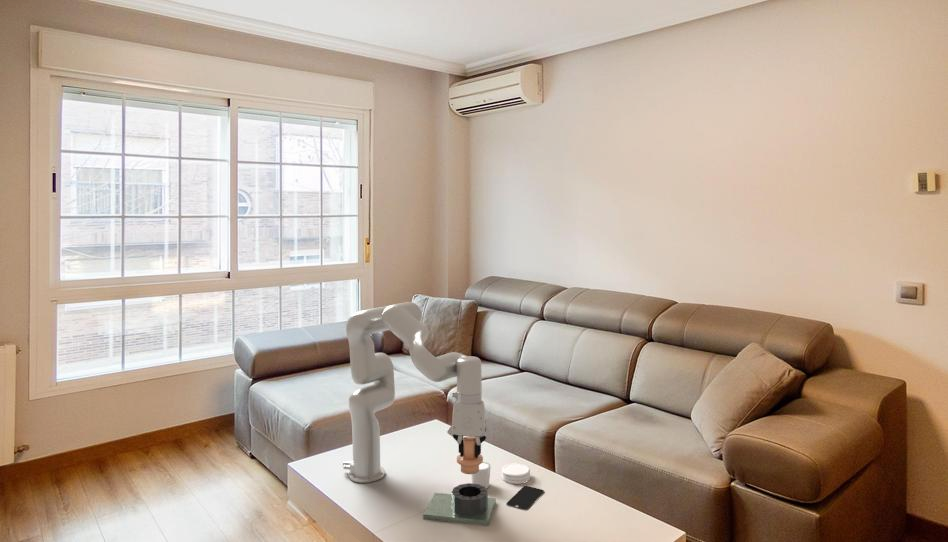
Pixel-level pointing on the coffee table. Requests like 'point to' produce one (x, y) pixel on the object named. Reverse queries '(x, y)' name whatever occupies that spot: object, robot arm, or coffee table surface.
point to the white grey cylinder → (482, 475)
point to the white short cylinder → (515, 473)
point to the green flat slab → (462, 505)
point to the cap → (469, 457)
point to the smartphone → (525, 498)
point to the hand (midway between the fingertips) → (469, 455)
